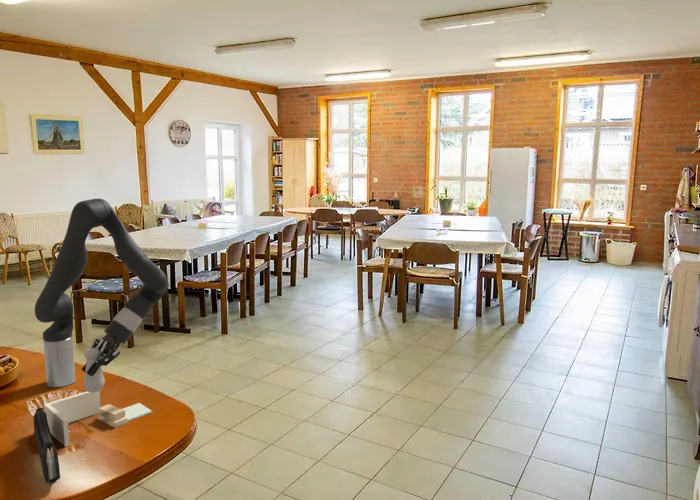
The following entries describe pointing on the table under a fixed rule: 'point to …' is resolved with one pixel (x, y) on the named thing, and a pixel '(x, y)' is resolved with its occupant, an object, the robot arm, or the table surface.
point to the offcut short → (111, 412)
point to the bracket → (70, 413)
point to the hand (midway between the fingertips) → (86, 373)
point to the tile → (136, 411)
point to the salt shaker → (97, 379)
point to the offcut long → (113, 423)
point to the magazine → (46, 447)
